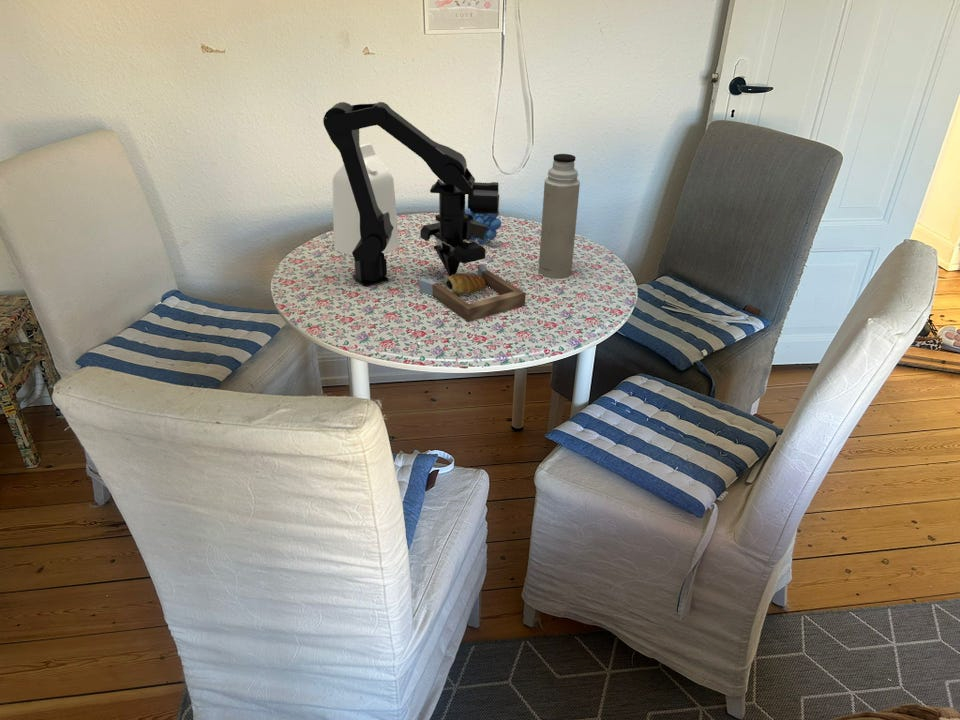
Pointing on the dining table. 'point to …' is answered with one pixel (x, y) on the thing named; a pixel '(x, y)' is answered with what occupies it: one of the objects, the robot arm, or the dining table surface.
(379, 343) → the dining table surface
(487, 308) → the holder
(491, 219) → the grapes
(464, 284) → the pastry
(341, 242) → the milk
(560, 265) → the thermos bottle
